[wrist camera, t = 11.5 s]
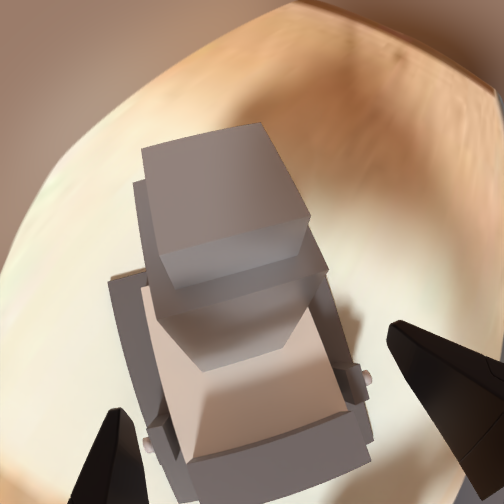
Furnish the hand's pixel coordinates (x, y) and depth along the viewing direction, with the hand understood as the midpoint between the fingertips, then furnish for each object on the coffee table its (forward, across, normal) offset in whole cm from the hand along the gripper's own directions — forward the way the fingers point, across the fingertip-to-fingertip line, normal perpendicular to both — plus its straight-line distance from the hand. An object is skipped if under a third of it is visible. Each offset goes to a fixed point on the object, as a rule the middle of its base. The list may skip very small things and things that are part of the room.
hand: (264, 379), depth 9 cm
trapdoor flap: (+6, 0, +8) cm, 10 cm away
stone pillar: (+9, 0, +5) cm, 10 cm away
